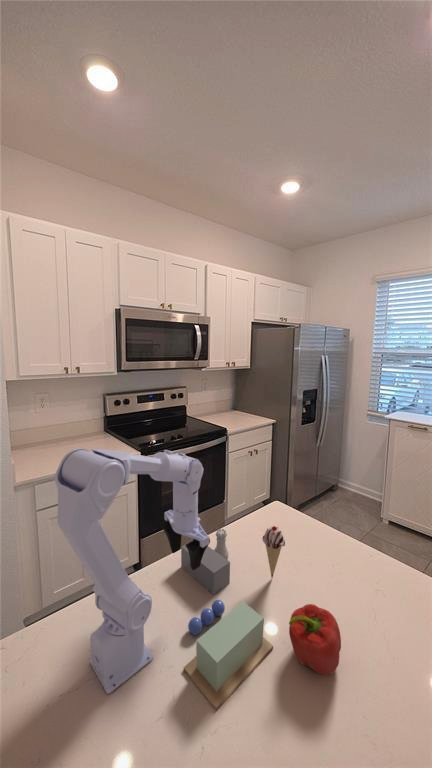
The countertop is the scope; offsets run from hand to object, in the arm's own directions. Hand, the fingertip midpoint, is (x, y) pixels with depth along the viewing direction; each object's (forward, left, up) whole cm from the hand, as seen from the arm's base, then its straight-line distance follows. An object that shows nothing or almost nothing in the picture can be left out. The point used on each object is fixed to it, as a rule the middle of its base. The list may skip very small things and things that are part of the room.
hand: (185, 558), depth 76 cm
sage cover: (-3, -18, -9) cm, 20 cm away
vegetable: (+9, -29, -10) cm, 32 cm away
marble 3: (+2, -9, -10) cm, 14 cm away
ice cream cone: (+20, -11, -10) cm, 25 cm away
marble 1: (-4, -9, -10) cm, 14 cm away
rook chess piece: (+16, +4, -10) cm, 19 cm away
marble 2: (-1, -9, -10) cm, 13 cm away
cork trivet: (-3, -18, -10) cm, 21 cm away
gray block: (+8, +2, -10) cm, 13 cm away
